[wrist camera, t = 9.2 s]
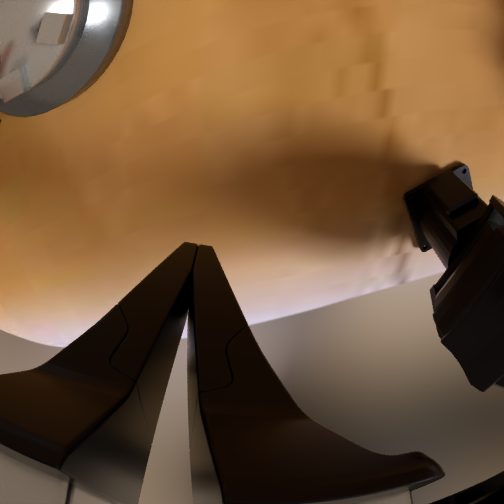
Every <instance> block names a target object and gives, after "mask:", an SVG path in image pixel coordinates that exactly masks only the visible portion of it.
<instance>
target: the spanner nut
mask: <svg viewBox="0 0 504 504" xmlns="http://www.w3.org/2000/svg"><path fill="white" fill-rule="evenodd" d="M89 2H90V0H0V99H2V98H3V100H4V103H5V102H7V101H10V100H12V99H14V98H16V97H17V96H19V95H21V94H23V93H25V92H27V91H29V90H31V89H34V88H36V87H39V86H40V85H42V84H44V83H45V82H47V81H48V80H50V79H51V78H52V77H53V76H54V75H55V74H56V73H58V72H59V71H60V69H61V68H62V67H63V66H64V65H65V64H66V62H67V61H68V60H69V58H70V57H71V55H72V54H73V52H74V50H75V49H76V47H77V45H78V43H79V41H80V39H81V36H82V34H83V31H84V28H85V25H86V21H87V17H88V12H89Z"/></svg>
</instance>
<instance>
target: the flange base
mask: <svg viewBox="0 0 504 504" xmlns="http://www.w3.org/2000/svg"><path fill="white" fill-rule="evenodd" d="M132 7H133V0H90V2H89V12H88V17H87V21H86V25H85V28H84V31H83V34H82V36H81V39H80V41H79V43H78V45H77V47H76V49H75V50H74V52H73V54H72V55H71V57H70V58H69V60H68V61H67V62H66V64H65V65H64V66H63V67H62V68H61V69H60V71H59V72H58V73H56V74H55V75H54V76H53V77H52V78H51V79H50V80H48V81H47V82H45V83H44V84H42V85H40V86H39V87H36V88H34V89H31V90H29V91H27V92H25V93H23V94H21V95H19V96H17V97H16V98H14V99H12V100H10V101H7V102H5V103H4V100H3V98H2V99H0V111H1V112H3V113H5V114H8V115H12V116H17V117H29V116H36V115H39V114H43V113H45V112H48V111H50V110H52V109H54V108H57V107H59V106H61V105H63V104H65V103H67V102H69V101H71V100H73V99H74V98H76V97H78V96H79V95H80V94H82V93H83V92H85V91H86V90H87V89H88V88H89V87H90V86H91V85H93V84H94V83H95V82H96V81H97V80H98V78H99V77H100V76H101V75H102V74H103V73H104V72H105V70H106V69H107V67H108V66H109V65H110V63H111V62H112V60H113V59H114V57H115V55H116V54H117V52H118V50H119V48H120V46H121V44H122V42H123V40H124V37H125V34H126V32H127V29H128V26H129V22H130V18H131V14H132ZM0 122H1V120H0Z"/></svg>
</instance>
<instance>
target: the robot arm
mask: <svg viewBox="0 0 504 504" xmlns="http://www.w3.org/2000/svg"><path fill="white" fill-rule="evenodd" d="M463 169H464V171H463V172H462V170H463ZM410 197H412V198H411V199H410V200H408V199H409V198H410ZM403 199H404V202H405V205H406V208H407V211H408V214H409V217H410V220H411V223H412V226H413V229H414V232H415V235H416V239H417V242H418V245H419V248H420V249H421V251H422V252H426V251H428V250H430V249H432V248H433V250H434V251H435V253H436V254H437V256H438V257H439V259H440V260H441V262H442V263H443V265H444V266H445V268H446V271H445V272H444V274H443V275H442V276H441V278H440V279H439V281H438V282H437V283H436V284H435V285H433V286H432V288H431V289H430V294H431V299H432V305H433V310H434V313H433V319H434V322H435V324H436V328H437V332H438V335H439V337H440V338H441V343H442V344H443V345H444V346H445V347H446V348H447V349H448V350H449V351H450V352H451V353H452V354H453V355H454V357H455V358H456V359H457V360H458V362H459V363H460V365H461V367H462V368H463V370H464V372H465V374H466V376H467V378H468V380H469V382H470V384H471V385H472V386H474V387H475V388H477V389H478V390H480V391H482V392H485V391H486V390H487V389H489V388H490V387H491V386H492V385H495V386H497V387H500V388H503V389H504V202H503V201H501V200H500V199H498V198H497V197H495V196H494V195H492V197H491V199H490V201H489V202H490V203H489V205H487V204H486V203H485V202H484V201H483V200H482V199H481V198H480V197H479V196H478V194H477V193H476V192H475V191H474V190H473V187H472V182H471V177H470V172H469V168H468V166H467V165H465V164H463V163H462V164H460V165H458V166H456V167H454V168H452V169H450V170H448V171H446V172H444V173H442V174H440V175H438V176H436V177H435V178H433V179H431V180H429V181H427V182H425V183H424V184H422V185H420V186H418V187H416V188H414V189H413V190H411V191H409V192H407V193H406V194H405V195H404V198H403ZM425 245H426V246H425ZM424 246H425V247H424ZM188 309H189V310H188ZM187 315H188V330H187V379H188V380H187V381H188V382H187V383H188V422H189V423H188V424H189V448H190V466H191V482H192V495H193V504H413V501H412V495H411V491H412V490H415V489H418V488H420V487H423V486H425V485H427V484H430V483H432V482H434V481H437V480H439V479H441V478H442V477H444V476H445V472H444V471H443V469H442V468H441V466H440V465H439V464H438V463H437V462H436V461H435V460H433V459H432V458H430V457H429V456H427V455H426V454H424V453H423V452H419V451H415V452H409V453H404V454H399V455H385V454H379V453H376V452H373V451H370V450H368V449H366V448H364V447H362V446H360V445H358V444H356V443H354V442H352V441H350V440H348V439H346V438H345V437H343V436H341V435H339V434H337V433H335V432H334V431H332V430H330V429H328V428H326V427H325V426H323V425H321V424H319V423H318V422H316V421H314V420H313V419H311V418H310V417H309V416H308V415H307V414H305V413H304V412H303V411H302V410H301V408H300V407H299V406H298V405H297V404H296V402H295V401H294V399H293V398H292V396H291V395H290V394H289V392H288V391H287V389H286V388H285V387H284V385H283V383H282V382H281V381H280V379H279V377H278V376H277V375H276V373H275V372H274V370H273V369H272V367H271V366H270V364H269V363H268V361H267V359H266V358H265V356H264V354H263V353H262V351H261V349H260V347H259V345H258V344H257V342H256V340H255V338H254V336H253V334H252V332H251V329H250V327H249V326H248V323H247V321H246V319H245V317H244V315H243V313H242V310H241V308H240V306H239V304H238V302H237V300H236V297H235V295H234V293H233V291H232V289H231V287H230V284H229V282H228V280H227V278H226V276H225V273H224V271H223V269H222V267H221V264H220V262H219V260H218V258H217V255H216V253H215V251H214V249H213V247H212V246H207V245H199V246H198V245H197V244H195V243H189V242H184V243H183V244H182V245H180V246H179V247H178V248H177V249H176V250H175V251H174V252H173V253H172V254H170V255H169V256H168V257H167V258H166V259H165V260H164V261H163V262H162V263H160V264H159V265H158V266H157V267H156V268H155V269H154V270H153V271H152V272H151V273H150V274H148V275H147V276H146V277H145V278H144V279H143V280H142V281H141V282H140V283H139V284H138V285H137V286H136V287H134V288H133V289H132V290H131V291H130V292H129V293H128V294H127V295H126V296H125V297H124V298H123V299H122V300H121V301H120V302H119V303H118V304H117V305H115V306H114V307H113V308H112V309H111V310H110V311H109V312H108V313H107V314H106V315H105V316H104V317H103V318H101V319H100V320H99V321H98V322H97V323H96V324H95V325H93V326H92V327H91V328H90V329H88V330H87V331H86V332H85V333H84V334H82V335H81V336H80V337H78V338H77V339H76V340H75V341H73V342H72V343H71V344H69V345H68V346H67V347H65V348H64V349H63V350H62V351H60V352H59V353H58V354H57V355H55V356H54V357H53V358H51V359H50V360H49V361H48V362H46V363H44V364H42V365H41V366H39V367H37V368H34V369H31V370H27V371H21V372H15V373H8V374H2V375H0V504H138V501H139V497H140V492H141V488H142V484H143V479H144V475H145V471H146V467H147V462H148V458H149V454H150V450H151V446H152V445H151V444H152V442H153V438H154V434H155V430H156V426H157V422H158V418H159V414H160V411H161V407H162V403H163V400H164V395H165V392H166V388H167V385H168V381H169V377H170V374H171V370H172V367H173V363H174V360H175V356H176V353H177V349H178V345H179V343H180V339H181V336H182V332H183V329H184V326H185V322H186V319H187ZM430 504H504V471H502V472H500V473H498V474H496V475H495V476H493V477H491V478H489V479H487V480H484V481H482V482H480V483H478V484H476V485H474V486H471V487H469V488H467V489H465V490H462V491H460V492H458V493H455V494H453V495H450V496H448V497H445V498H443V499H440V500H437V501H435V502H432V503H430Z"/></svg>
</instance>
